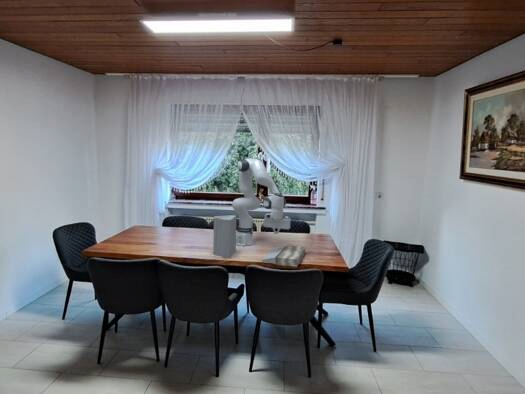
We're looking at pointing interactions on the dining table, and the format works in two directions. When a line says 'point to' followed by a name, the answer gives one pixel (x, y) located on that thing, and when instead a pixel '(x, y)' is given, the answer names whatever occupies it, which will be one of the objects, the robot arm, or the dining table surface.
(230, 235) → the tall grey upright block
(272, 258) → the decorative molding
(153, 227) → the dining table surface
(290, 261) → the grey beige flat block
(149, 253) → the dining table surface
